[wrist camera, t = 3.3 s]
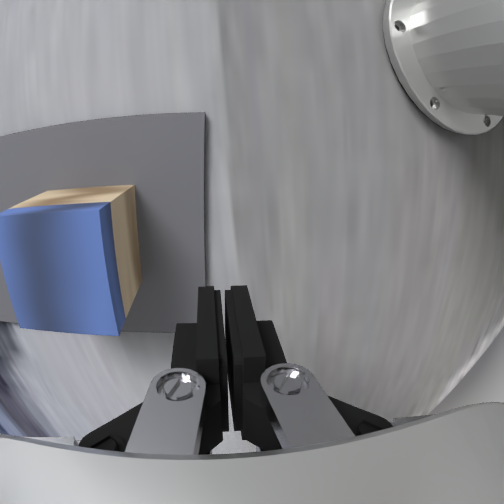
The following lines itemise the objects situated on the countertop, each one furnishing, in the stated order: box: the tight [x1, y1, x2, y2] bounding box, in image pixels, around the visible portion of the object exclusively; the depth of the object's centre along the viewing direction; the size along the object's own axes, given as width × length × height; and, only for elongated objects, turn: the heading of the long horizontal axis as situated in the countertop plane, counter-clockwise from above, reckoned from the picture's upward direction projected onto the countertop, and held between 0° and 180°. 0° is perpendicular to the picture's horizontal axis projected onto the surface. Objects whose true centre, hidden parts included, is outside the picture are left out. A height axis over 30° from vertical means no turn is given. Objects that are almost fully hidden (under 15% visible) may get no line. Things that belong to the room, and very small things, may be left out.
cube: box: [0, 185, 142, 336], centre depth 15 cm, size 6×6×6 cm
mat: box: [0, 112, 206, 333], centre depth 17 cm, size 26×14×1 cm, turn 88°
